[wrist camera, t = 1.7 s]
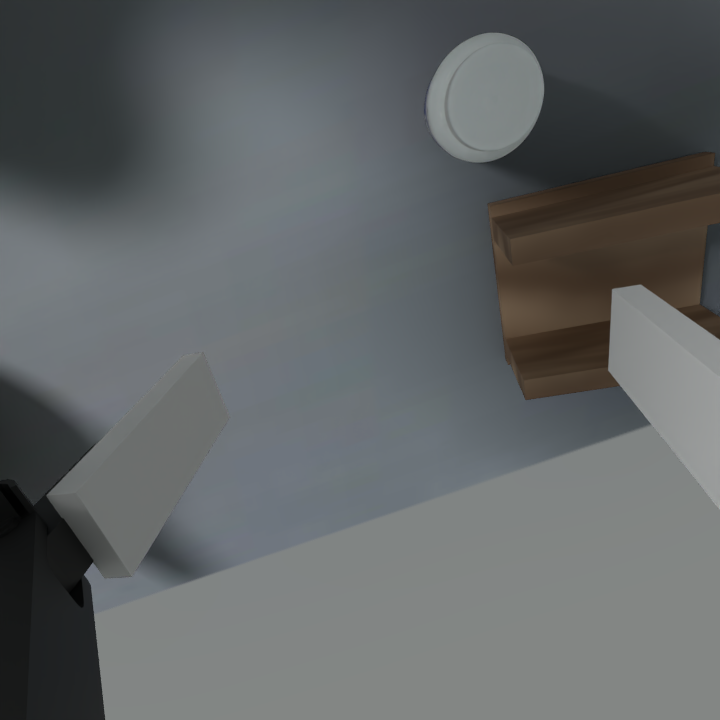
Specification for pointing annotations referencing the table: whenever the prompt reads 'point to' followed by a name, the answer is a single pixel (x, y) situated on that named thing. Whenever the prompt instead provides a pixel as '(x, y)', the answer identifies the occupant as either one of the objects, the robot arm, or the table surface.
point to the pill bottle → (484, 98)
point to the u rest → (598, 265)
